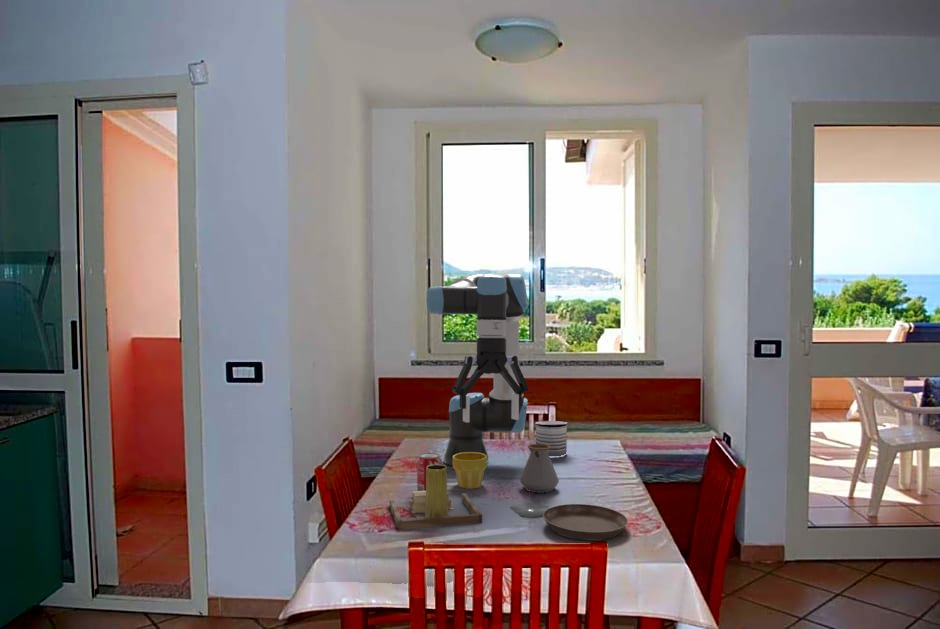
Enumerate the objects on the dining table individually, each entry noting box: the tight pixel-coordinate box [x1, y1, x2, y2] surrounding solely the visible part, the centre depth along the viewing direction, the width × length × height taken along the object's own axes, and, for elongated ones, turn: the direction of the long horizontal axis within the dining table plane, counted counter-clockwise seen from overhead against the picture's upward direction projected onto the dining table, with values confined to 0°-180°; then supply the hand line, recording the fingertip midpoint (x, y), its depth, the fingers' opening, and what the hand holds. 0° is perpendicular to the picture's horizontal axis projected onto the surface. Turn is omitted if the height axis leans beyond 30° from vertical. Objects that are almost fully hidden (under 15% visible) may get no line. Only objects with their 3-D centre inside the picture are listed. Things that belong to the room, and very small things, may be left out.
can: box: [535, 420, 568, 456], centre depth 240 cm, size 11×11×12 cm
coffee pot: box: [519, 443, 560, 494], centre depth 194 cm, size 21×12×15 cm, turn 171°
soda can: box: [416, 452, 443, 491], centre depth 191 cm, size 7×7×12 cm
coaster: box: [509, 501, 550, 518], centre depth 180 cm, size 11×11×1 cm
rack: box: [389, 493, 483, 530], centre depth 174 cm, size 18×21×3 cm
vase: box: [424, 464, 449, 518], centre depth 170 cm, size 6×6×14 cm
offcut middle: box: [409, 498, 452, 514], centre depth 178 cm, size 4×10×2 cm, turn 114°
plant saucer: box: [542, 503, 629, 541], centre depth 166 cm, size 21×21×3 cm
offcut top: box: [412, 490, 450, 503], centre depth 178 cm, size 4×9×2 cm, turn 102°
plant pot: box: [452, 452, 488, 489], centre depth 199 cm, size 10×10×10 cm
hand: (490, 420), depth 171 cm, fingers open, 13 cm apart
